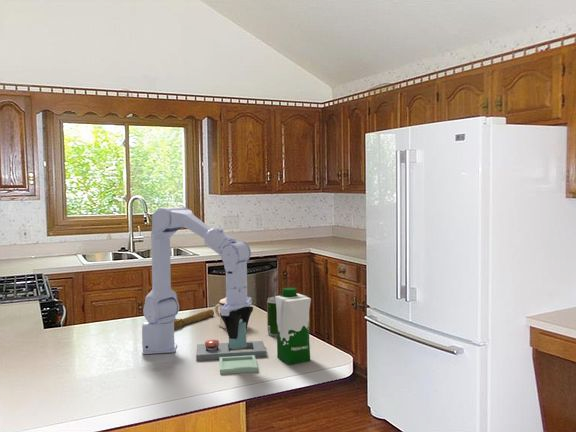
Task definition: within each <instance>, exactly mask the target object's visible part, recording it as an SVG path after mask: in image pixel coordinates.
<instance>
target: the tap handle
mask: <svg viewBox="0 0 576 432" xmlns="http://www.w3.org/2000/svg"><path fill="white" fill-rule="evenodd" d="M214 315H215V310H214V309H207V310H203V311H200V312H197V313H195V314H192V315H189V316H186V317H185V318H176V319H174V331H176V330H178V329H181V328H182V327H184V326H186V325H189V324H192V323H196V322H199V321H202V320H206V319H208V318H211V317H214Z"/></svg>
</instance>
